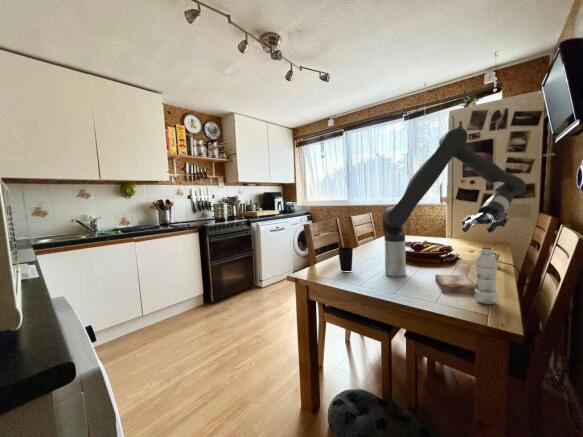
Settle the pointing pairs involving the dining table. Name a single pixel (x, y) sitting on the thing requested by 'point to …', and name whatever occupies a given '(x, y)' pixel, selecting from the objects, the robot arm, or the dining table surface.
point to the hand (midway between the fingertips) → (475, 230)
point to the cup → (345, 258)
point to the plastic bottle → (486, 276)
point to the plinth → (455, 284)
